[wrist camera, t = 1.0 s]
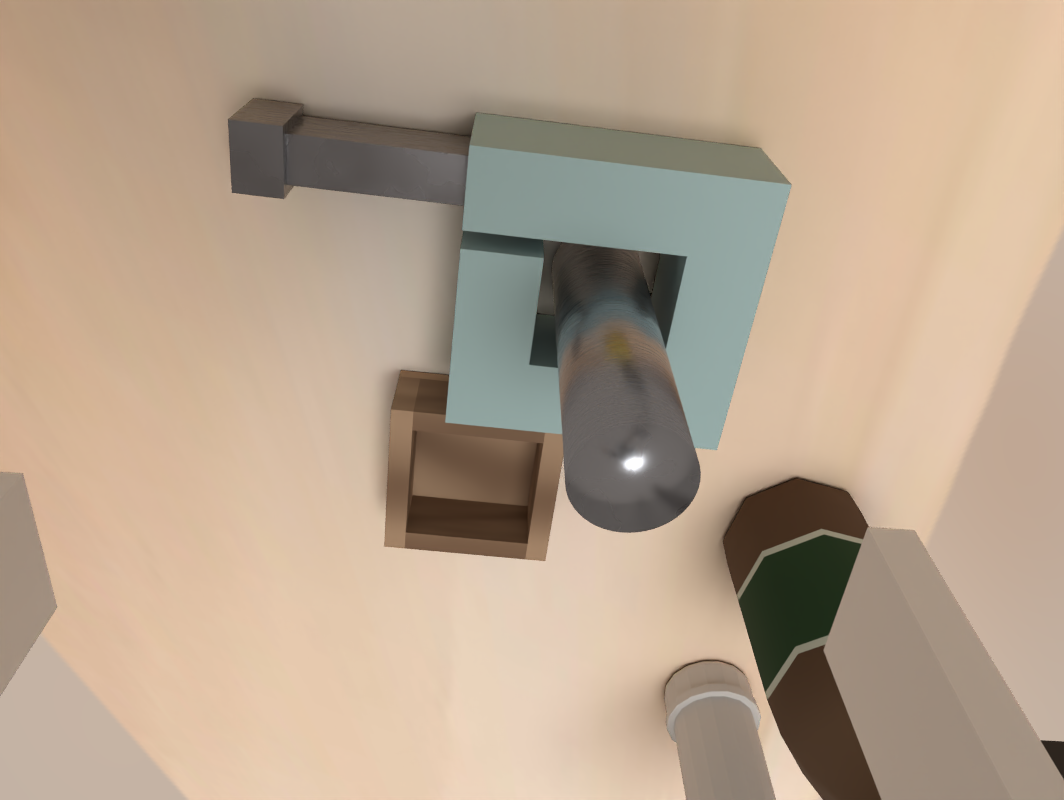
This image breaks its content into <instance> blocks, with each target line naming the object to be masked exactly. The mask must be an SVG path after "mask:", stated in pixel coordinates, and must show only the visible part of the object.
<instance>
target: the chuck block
mask: <svg viewBox="0 0 1064 800" xmlns="http://www.w3.org/2000/svg"><path fill="white" fill-rule="evenodd" d="M790 189H791V183H790V182H789V181H788V180H787V179H786V178H785V176H784V175H783V174H782V173H781V172H780V170H779V169H778V168H777V167H776V166H775V165H774V163H773V162H772V161H771V160H770V159H769V157H768V156H767V155H766V154H765V153H764V151H763V150H762V149H761V148H754V147H746V146H738V145H730V144H723V143H715V142H707V141H699V140H691V139H683V138H675V137H667V136H659V135H651V134H643V133H635V132H627V131H619V130H611V129H603V128H595V127H587V126H579V125H571V124H563V123H556V122H548V121H540V120H532V119H524V118H516V117H508V116H500V115H492V114H484V113H476V116H475V121H474V126H473V130H472V135H471V140H470V145H469V156H468V168H467V179H466V191H465V202H464V214H463V225H462V230H464V231H463V237H462V243H461V248H460V259H459V271H458V282H457V294H456V305H455V317H454V328H453V340H452V351H451V363H450V374H449V386H448V397H447V408H446V420H445V423H455V424H465V425H475V426H484V427H494V428H504V429H514V430H524V431H534V432H544V433H554V434H562V423H561V408H560V392H559V377H558V361H557V345H556V330H555V316H551V315H542V314H536V312H537V305H538V298H539V291H540V284H541V276H542V269H543V262H544V247H543V240H550V241H558V242H567V243H576V244H584V245H593V246H601V247H610V248H618V249H627V250H636V251H644V252H653V253H661V254H660V259H659V264H658V268H657V273H656V278H655V282H654V287H653V292H652V297H651V301H652V304H653V307H654V311H655V314H656V318H657V321H658V324H659V328H660V331H661V335H662V338H663V342H664V345H665V348H666V352H667V355H668V359H669V362H670V366H671V369H672V372H673V376H674V379H675V383H676V386H677V389H678V393H679V396H680V400H681V403H682V407H683V410H684V413H685V417H686V420H687V424H688V427H689V431H690V434H691V437H692V441H693V444H694V448H702V449H712V450H717V448H718V444H719V441H720V437H721V434H722V430H723V427H724V423H725V420H726V416H727V412H728V409H729V405H730V402H731V398H732V395H733V391H734V388H735V384H736V380H737V377H738V373H739V370H740V366H741V363H742V359H743V356H744V352H745V349H746V345H747V341H748V338H749V334H750V331H751V327H752V324H753V320H754V317H755V313H756V309H757V306H758V302H759V299H760V295H761V292H762V288H763V285H764V281H765V278H766V274H767V270H768V267H769V263H770V260H771V256H772V253H773V249H774V246H775V242H776V238H777V235H778V231H779V228H780V224H781V221H782V217H783V214H784V210H785V207H786V203H787V199H788V196H789V192H790Z"/></svg>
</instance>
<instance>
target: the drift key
mask: <svg viewBox="0 0 1064 800" xmlns="http://www.w3.org/2000/svg"><path fill="white" fill-rule="evenodd" d="M228 127H229V146H230V165H231V184H232V193H239V194H247V195H256V196H264V197H273V198H281V199H285V197H286V196H287V194H288V193H289V192H290V190H291V189H292V188H293V186H301V187H309V188H318V189H326V190H335V191H343V192H352V193H360V194H368V195H377V196H385V197H394V198H402V199H411V200H419V201H428V202H436V203H445V204H453V205H461V206H464V202H465V191H466V179H467V168H468V156H469V145H470V140H471V137H469V136H461V135H453V134H445V133H437V132H429V131H421V130H413V129H405V128H397V127H389V126H381V125H372V124H364V123H356V122H348V121H340V120H332V119H324V118H316V117H308V116H303V105H302V104H294V103H286V102H278V101H270V100H262V99H254V98H253V99H252V100H251V101H249V102H248V103H247V104H246V105H245V106H243V107H242V108H241V109H240V110H239V111H237V112H236V113H235V114H234V115H233V116H232V117H230V118H229V119H228Z"/></svg>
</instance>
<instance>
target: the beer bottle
mask: <svg viewBox="0 0 1064 800" xmlns="http://www.w3.org/2000/svg"><path fill="white" fill-rule="evenodd" d="M868 527H869V526H868V524H867V523H866V521H865V519H864V517H863V515H862V513H861V511H860V510H859V508H858V507H857V505H856V504H855V502H854V500H853V499H852V497H851V496H850V494H849V493H848V492H845V491H843V490H839V489H835V488H832V487H828V486H824V485H820V484H817V483H813V482H809V481H805V480H801V479H798V478H795V479H793V480H790V481H788V482H785V483H783V484H780V485H778V486H775V487H772V488H770V489H767V490H765V491H762V492H760V493H757V494H755V495H752V496H750V497H747V498H746V499H745V501H744V503H743V505H742V507H741V509H740V510H739V512H738V514H737V516H736V518H735V519H734V521H733V523H732V525H731V527H730V529H729V530H728V532H727V534H726V536H725V538H724V540H723V544H724V549H725V554H726V558H727V563H728V567H729V570H730V574H731V577H732V581H733V584H734V587H735V591H736V594H737V598H738V601H739V605H740V608H741V611H742V615H743V618H744V622H745V625H746V629H747V632H748V635H749V639H750V642H751V646H752V649H753V653H754V656H755V659H756V663H757V666H758V670H759V673H760V677H761V680H762V683H763V687H764V690H765V694H766V697H767V700H768V703H769V705H770V708H771V711H772V713H773V716H774V718H775V721H776V723H777V726H778V729H779V731H780V734H781V736H782V738H783V739H784V741H785V743H786V745H787V746H788V748H789V750H790V752H791V753H792V755H793V757H794V759H795V760H796V762H797V764H798V766H799V767H800V769H801V771H802V773H803V774H804V775H805V777H806V778H807V779H808V781H809V782H810V783H811V785H812V786H813V787H814V789H815V790H816V791H817V792H818V794H819V795H820V796H821V798H822V799H823V800H881V797H880V794H879V792H878V789H877V787H876V784H875V782H874V779H873V776H872V774H871V771H870V769H869V766H868V764H867V761H866V758H865V756H864V753H863V751H862V748H861V745H860V743H859V740H858V738H857V735H856V733H855V730H854V727H853V725H852V722H851V720H850V717H849V715H848V712H847V709H846V707H845V704H844V702H843V699H842V697H841V694H840V691H839V689H838V686H837V684H836V681H835V679H834V676H833V673H832V671H831V668H830V666H829V663H828V661H827V658H826V655H825V653H824V647H825V645H826V642H827V639H828V636H829V633H830V631H831V628H832V625H833V622H834V620H835V617H836V614H837V611H838V608H839V606H840V603H841V600H842V597H843V594H844V592H845V589H846V586H847V583H848V581H849V578H850V575H851V572H852V569H853V567H854V564H855V561H856V558H857V555H858V553H859V550H860V547H861V544H862V542H863V539H864V536H865V533H866V530H867V528H868Z"/></svg>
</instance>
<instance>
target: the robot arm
mask: <svg viewBox="0 0 1064 800" xmlns="http://www.w3.org/2000/svg"><path fill="white" fill-rule="evenodd" d="M56 608H57V604H56V600H55V596H54V592H53V588H52V585H51V581H50V577H49V573H48V569H47V565H46V561H45V557H44V553H43V549H42V546H41V542H40V538H39V534H38V530H37V526H36V522H35V518H34V514H33V511H32V507H31V503H30V499H29V495H28V491H27V487H26V483H25V479H24V475H23V473H11V472H0V696H1V694H2V693H3V691H4V690H5V688H6V687H7V685H8V683H9V682H10V680H11V679H12V677H13V675H14V674H15V672H16V671H17V669H18V668H19V666H20V664H21V663H22V661H23V660H24V658H25V657H26V655H27V653H28V652H29V651H30V649H31V647H32V646H33V644H34V643H35V641H36V639H37V638H38V636H39V635H40V633H41V632H42V630H43V629H44V627H45V625H46V624H47V622H48V621H49V619H50V618H51V616H52V615H53V613H54V611H55V610H56ZM824 653H825V655H826V658H827V661H828V663H829V666H830V668H831V671H832V673H833V676H834V679H835V681H836V684H837V686H838V689H839V691H840V694H841V697H842V699H843V702H844V704H845V707H846V709H847V712H848V715H849V717H850V720H851V722H852V725H853V727H854V730H855V733H856V735H857V738H858V740H859V743H860V745H861V748H862V751H863V753H864V756H865V758H866V761H867V764H868V766H869V769H870V771H871V774H872V776H873V779H874V782H875V784H876V787H877V789H878V792H879V794H880V797H881V800H1064V742H1061V741H1042V740H1040V739H1039V737H1038V736H1037V734H1036V732H1035V731H1034V729H1033V727H1032V726H1031V724H1030V723H1029V721H1028V719H1027V718H1026V716H1025V714H1024V712H1023V711H1022V709H1021V707H1020V706H1019V704H1018V703H1017V701H1016V699H1015V697H1014V696H1013V694H1012V692H1011V691H1010V689H1009V687H1008V686H1007V684H1006V682H1005V681H1004V679H1003V677H1002V676H1001V674H1000V672H999V671H998V669H997V667H996V666H995V664H994V662H993V661H992V659H991V657H990V656H989V654H988V652H987V651H986V649H985V647H984V646H983V644H982V642H981V641H980V639H979V637H978V635H977V634H976V632H975V631H974V629H973V627H972V626H971V624H970V622H969V620H968V619H967V618H966V616H965V614H964V612H963V611H962V609H961V607H960V605H959V604H958V602H957V601H956V599H955V597H954V596H953V594H952V592H951V591H950V589H949V587H948V585H947V584H946V582H945V580H944V579H943V577H942V575H941V574H940V572H939V570H938V569H937V567H936V565H935V564H934V562H933V561H932V559H931V557H930V555H929V554H928V552H927V550H926V549H925V547H924V545H923V544H922V542H921V540H920V539H919V537H918V535H917V534H916V532H915V530H904V529H888V528H872V527H868V528H867V530H866V533H865V536H864V539H863V542H862V544H861V547H860V550H859V553H858V555H857V558H856V561H855V564H854V567H853V569H852V572H851V575H850V578H849V581H848V583H847V586H846V589H845V592H844V594H843V597H842V600H841V603H840V606H839V608H838V611H837V614H836V617H835V620H834V622H833V625H832V628H831V631H830V633H829V636H828V639H827V642H826V645H825V647H824Z"/></svg>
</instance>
